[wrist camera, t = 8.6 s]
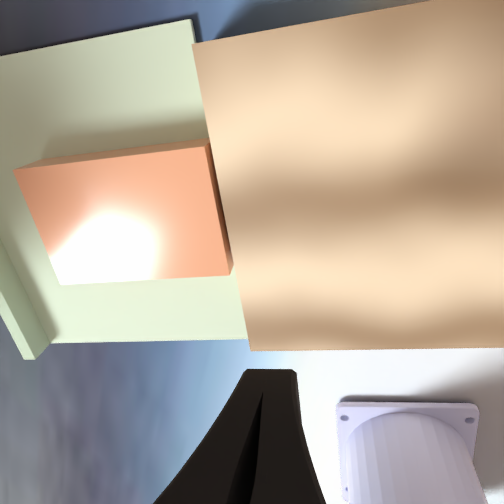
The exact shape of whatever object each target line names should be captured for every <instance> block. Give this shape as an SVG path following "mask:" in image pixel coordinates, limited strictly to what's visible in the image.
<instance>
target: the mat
mask: <svg viewBox="0 0 504 504" xmlns="http://www.w3.org/2000/svg"><path fill="white" fill-rule="evenodd" d="M195 43H196V38H195V33H194V27H193V22H192V19H187V20H182V21H177V22H172V23H167V24H162V25H157V26H152V27H147V28H142V29H137V30H132V31H127V32H122V33H116V34H111V35H106V36H101V37H96V38H91V39H86V40H81V41H76V42H71V43H66V44H61V45H56V46H51V47H46V48H41V49H35V50H30V51H25V52H20V53H15V54H10V55H5V56H0V315H1V316H2V318H3V320H4V322H5V324H6V326H7V328H8V330H9V332H10V334H11V335H12V337H13V339H14V341H15V343H16V345H17V347H18V349H19V351H20V352H21V354H22V356H23V358H24V359H36V358H37V357H38V356H39V355H40V354H41V353H42V352H43V351H44V350H45V348H46V347H47V346H48V345H49V344H50V343H79V342H126V341H173V340H221V339H248V335H247V330H246V324H245V319H244V314H243V309H242V304H241V299H240V293H239V288H238V283H237V278H236V273H235V268H234V266H233V268H232V271H231V274H230V275H229V276H210V277H191V278H172V279H153V280H134V281H115V282H96V283H77V284H60V281H59V279H58V277H57V274H56V272H55V269H54V267H53V265H52V262H51V260H50V258H49V255H48V253H47V251H46V248H45V246H44V243H43V241H42V239H41V236H40V234H39V232H38V229H37V227H36V225H35V222H34V220H33V217H32V215H31V213H30V210H29V208H28V206H27V203H26V201H25V199H24V196H23V194H22V192H21V189H20V187H19V184H18V182H17V180H16V177H15V175H14V173H13V170H14V169H16V168H19V167H22V166H24V165H27V164H29V163H32V162H35V161H37V160H40V159H46V158H54V157H62V156H69V155H77V154H85V153H93V152H101V151H109V150H117V149H124V148H132V147H140V146H148V145H156V144H164V143H171V142H179V141H187V140H195V139H203V138H209V133H208V128H207V123H206V117H205V112H204V107H203V102H202V97H201V92H200V86H199V81H198V76H197V71H196V66H195V61H194V55H193V50H192V45H191V44H195Z"/></svg>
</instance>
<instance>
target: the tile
mask: <svg viewBox="0 0 504 504" xmlns="http://www.w3.org/2000/svg"><path fill="white" fill-rule="evenodd" d="M13 173H14V175H15V177H16V180H17V182H18V184H19V187H20V189H21V192H22V194H23V196H24V199H25V201H26V203H27V206H28V208H29V210H30V213H31V215H32V217H33V220H34V222H35V225H36V227H37V229H38V232H39V234H40V236H41V239H42V241H43V243H44V246H45V248H46V251H47V253H48V255H49V258H50V260H51V262H52V265H53V267H54V269H55V272H56V274H57V277H58V279H59V281H60V284H77V283H96V282H115V281H134V280H153V279H172V278H191V277H210V276H229V275H230V274H231V271H232V268H233V266H234V262H233V257H232V252H231V247H230V242H229V237H228V231H227V226H226V221H225V216H224V211H223V205H222V200H221V195H220V190H219V185H218V180H217V174H216V169H215V164H214V159H213V154H212V149H211V143H210V138H203V139H195V140H187V141H179V142H171V143H164V144H156V145H148V146H140V147H132V148H124V149H117V150H109V151H101V152H93V153H85V154H77V155H69V156H62V157H54V158H46V159H40V160H37V161H35V162H32V163H29V164H27V165H24V166H22V167H19V168H16V169H14V170H13Z"/></svg>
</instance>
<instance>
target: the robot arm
mask: <svg viewBox="0 0 504 504" xmlns="http://www.w3.org/2000/svg"><path fill="white" fill-rule="evenodd" d="M343 415H346V416H343ZM479 416H480V411H479V409H478V407H477V406H476V405H474V404H471V403H412V402H340V403H338V404H337V405H336V421H337V434H338V447H339V460H340V473H341V486H342V497H343V499H344V500H345V501H347V502H349V504H488V502H487V500H486V497H485V494H484V492H483V489H482V486H481V484H480V481H479V479H478V476H477V473H476V471H475V468H474V465H473V463H472V462H473V456H474V449H475V443H476V436H477V429H478V423H479ZM469 417H470V418H469ZM153 504H326V502H325V499H324V496H323V494H322V491H321V488H320V485H319V482H318V479H317V476H316V473H315V470H314V467H313V464H312V460H311V457H310V454H309V450H308V447H307V443H306V439H305V435H304V431H303V427H302V420H301V411H300V402H299V392H298V383H297V373H296V372H295V371H293V370H292V369H247V370H246V371H244V373H243V374H242V376H241V378H240V380H239V382H238V384H237V386H236V387H235V389H234V391H233V393H232V394H231V396H230V398H229V399H228V401H227V403H226V404H225V406H224V408H223V409H222V411H221V413H220V414H219V416H218V417H217V419H216V420H215V422H214V423H213V425H212V426H211V428H210V429H209V431H208V432H207V434H206V435H205V437H204V438H203V440H202V441H201V443H200V444H199V445H198V447H197V448H196V449H195V451H194V452H193V454H192V455H191V456H190V458H189V459H188V460H187V462H186V463H185V465H184V466H183V467H182V469H181V470H180V471H179V472H178V474H177V475H176V476H175V478H174V479H173V480H172V481H171V483H170V484H169V485H168V486H167V487H166V489H165V490H164V491H163V492H162V493H161V495H160V496H159V497H158V498H157V499H156V501H155V502H154V503H153Z"/></svg>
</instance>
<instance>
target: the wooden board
mask: <svg viewBox="0 0 504 504" xmlns="http://www.w3.org/2000/svg"><path fill="white" fill-rule="evenodd" d="M191 45H192V50H193V55H194V61H195V66H196V71H197V76H198V81H199V86H200V92H201V97H202V102H203V107H204V112H205V117H206V123H207V128H208V133H209V138H210V143H211V149H212V154H213V159H214V164H215V169H216V174H217V180H218V185H219V190H220V195H221V200H222V205H223V211H224V216H225V221H226V226H227V231H228V237H229V242H230V247H231V252H232V257H233V262H234V268H235V273H236V278H237V283H238V288H239V293H240V299H241V304H242V309H243V314H244V319H245V324H246V330H247V335H248V340H249V345H250V350H251V351H301V350H370V349H438V348H504V0H429V1H424V2H418V3H413V4H407V5H402V6H396V7H391V8H385V9H380V10H374V11H369V12H364V13H358V14H353V15H347V16H342V17H336V18H331V19H325V20H320V21H315V22H309V23H304V24H298V25H293V26H287V27H282V28H276V29H271V30H265V31H260V32H255V33H249V34H244V35H238V36H233V37H227V38H222V39H216V40H211V41H206V42H200V43H195V44H191Z"/></svg>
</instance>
